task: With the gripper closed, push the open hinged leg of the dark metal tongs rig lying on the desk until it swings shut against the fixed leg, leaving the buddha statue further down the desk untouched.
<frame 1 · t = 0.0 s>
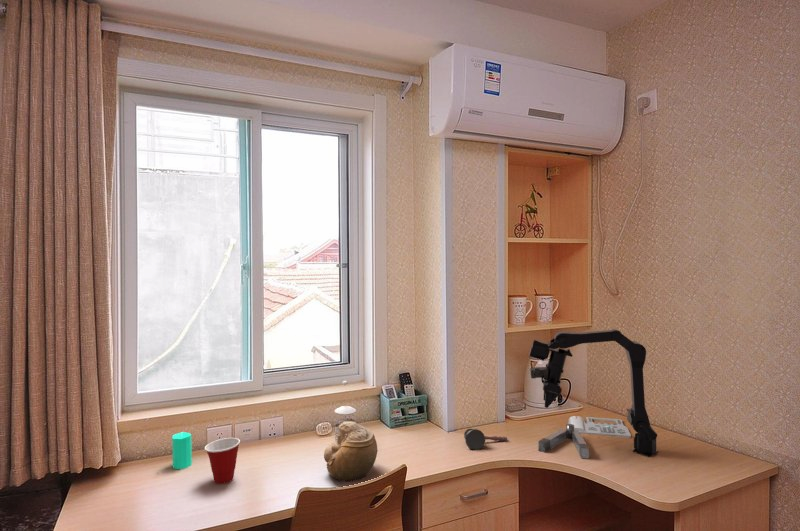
hand: (545, 403, 184), 15 cm above the table, tool pointing down, fingers open, 9 cm apart
buddha statue: (350, 474, 161), on the table
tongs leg: (580, 443, 180), point 2 cm above the table, hinge at 35.0°
black mallet: (486, 445, 185), on the table
tongs fixed: (570, 437, 191), on the table
candle: (182, 466, 169), on the table
french press: (346, 446, 185), on the table
office telephone: (597, 428, 204), on the table
plastic cup: (223, 480, 157), on the table
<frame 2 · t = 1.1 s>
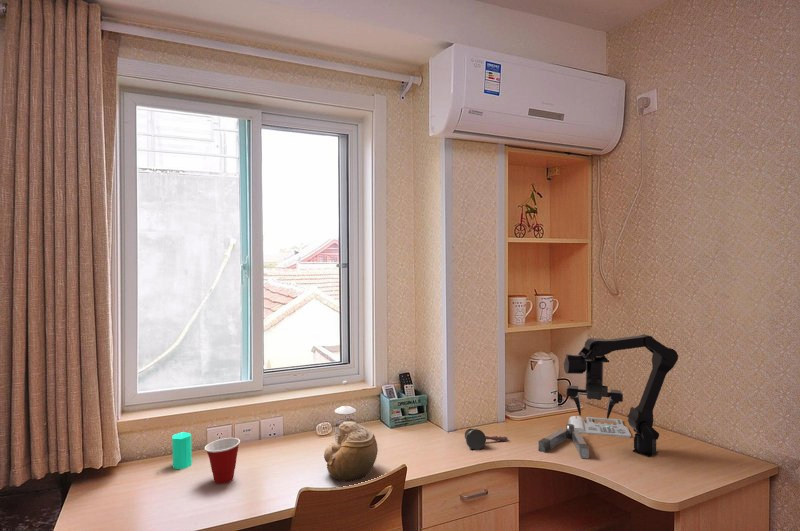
hand: (593, 417, 177), 13 cm above the table, tool pointing down, fingers open, 9 cm apart
nothing on the table moved.
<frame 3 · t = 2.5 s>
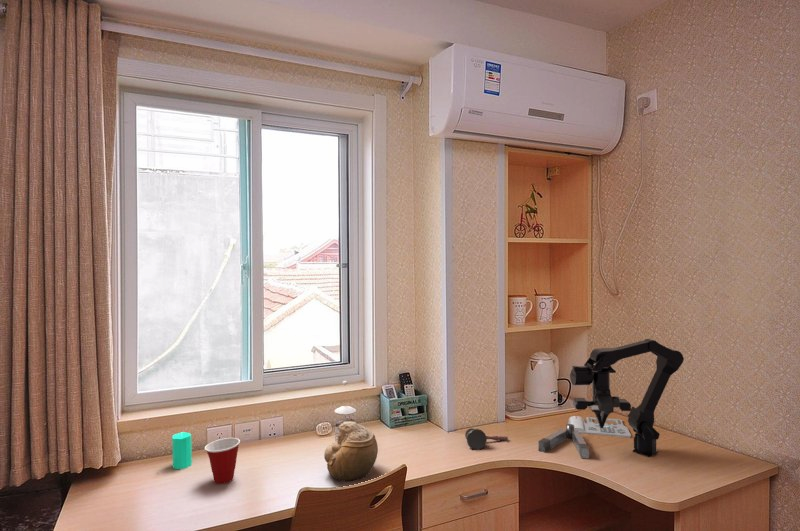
hand: (601, 427, 176), 9 cm above the table, tool pointing down, fingers closed
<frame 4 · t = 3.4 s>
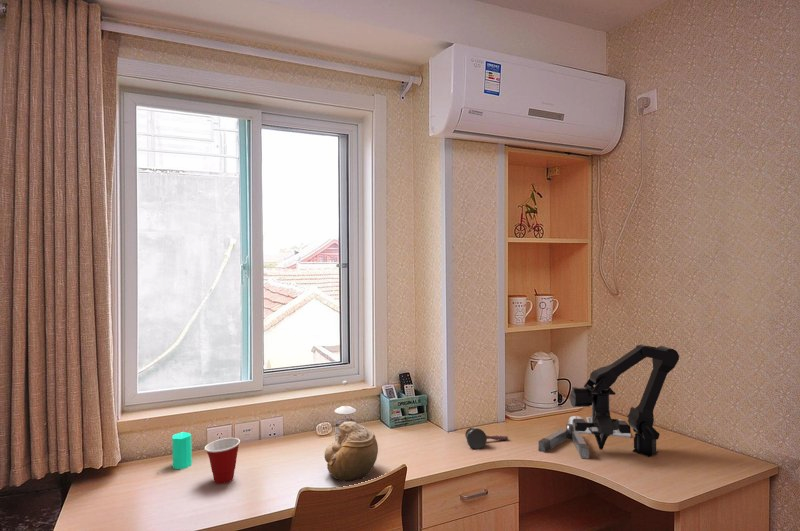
hand: (600, 449, 176), 1 cm above the table, tool pointing down, fingers closed
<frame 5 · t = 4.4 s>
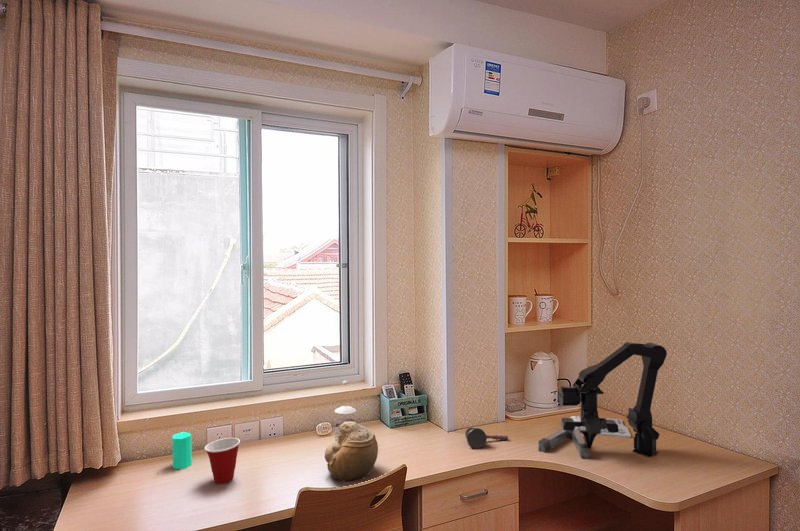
hand: (589, 448, 177), 1 cm above the table, tool pointing down, fingers closed
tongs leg: (580, 443, 180), point 2 cm above the table, hinge at 35.0°, touching gripper
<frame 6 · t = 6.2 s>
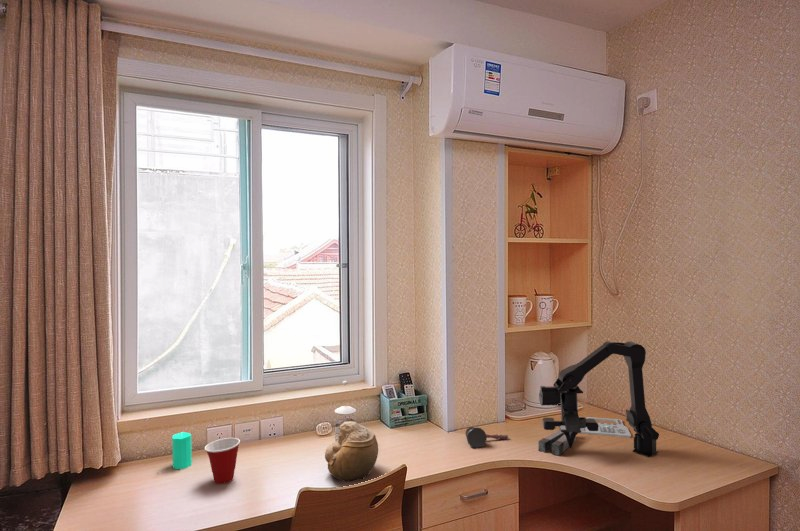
hand: (570, 447, 178), 1 cm above the table, tool pointing down, fingers closed
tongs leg: (564, 442, 182), point 2 cm above the table, hinge at 6.4°, touching gripper
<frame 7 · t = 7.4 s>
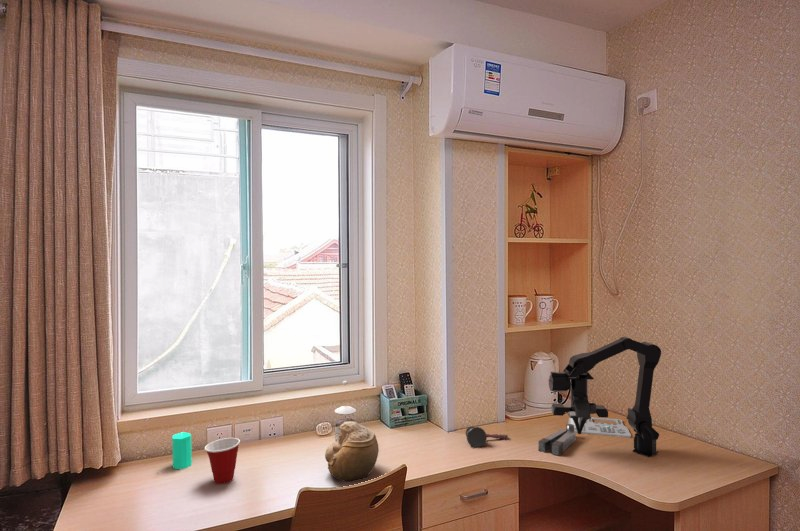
hand: (579, 433, 177), 7 cm above the table, tool pointing down, fingers closed
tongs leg: (564, 442, 182), point 2 cm above the table, hinge at 6.1°
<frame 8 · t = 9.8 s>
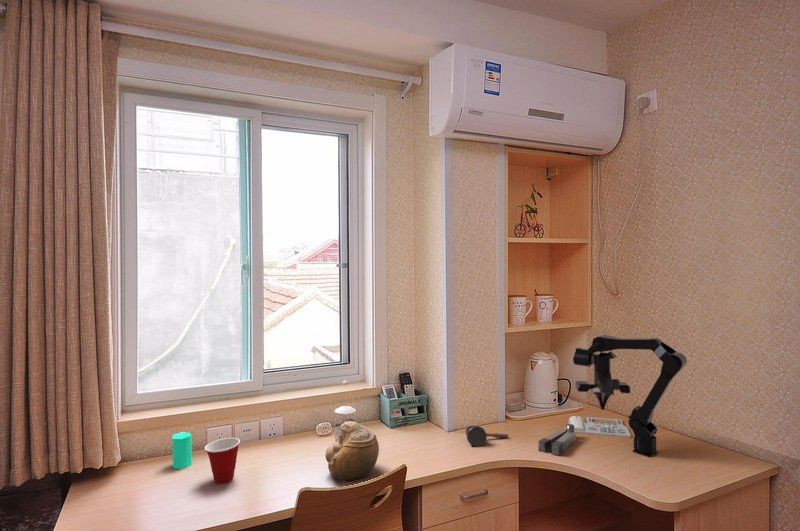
hand: (602, 409, 187), 13 cm above the table, tool pointing down, fingers closed
at the end: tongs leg at +6° (first picture: +35°); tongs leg touching nothing; buddha statue moved 0.6 cm from its start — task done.
